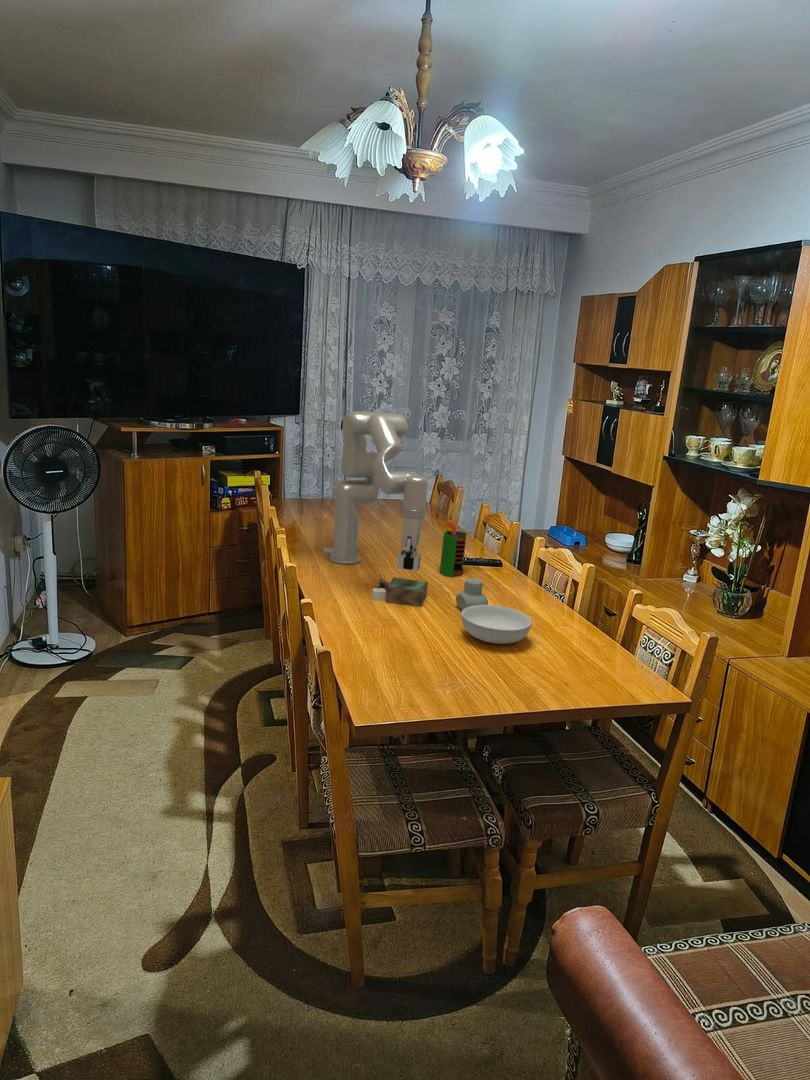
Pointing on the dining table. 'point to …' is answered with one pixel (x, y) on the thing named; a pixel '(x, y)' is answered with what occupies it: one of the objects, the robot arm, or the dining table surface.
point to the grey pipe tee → (471, 594)
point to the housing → (415, 563)
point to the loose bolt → (383, 583)
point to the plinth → (406, 592)
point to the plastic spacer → (378, 594)
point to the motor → (452, 551)
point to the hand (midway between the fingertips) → (409, 566)
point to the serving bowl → (495, 623)
